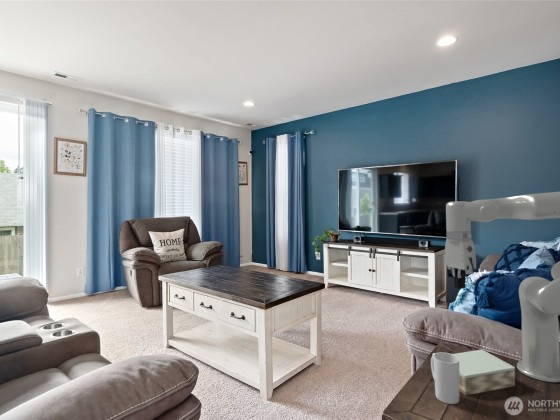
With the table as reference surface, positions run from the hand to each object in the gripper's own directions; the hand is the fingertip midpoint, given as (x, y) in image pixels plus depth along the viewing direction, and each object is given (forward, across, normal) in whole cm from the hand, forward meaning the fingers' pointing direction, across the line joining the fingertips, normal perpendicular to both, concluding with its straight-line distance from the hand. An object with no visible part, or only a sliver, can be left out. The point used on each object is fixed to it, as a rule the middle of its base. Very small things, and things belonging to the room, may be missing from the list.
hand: (459, 287), depth 114 cm
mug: (+27, -14, +19) cm, 36 cm away
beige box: (+27, -10, +4) cm, 29 cm away
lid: (+22, -10, +4) cm, 24 cm away
